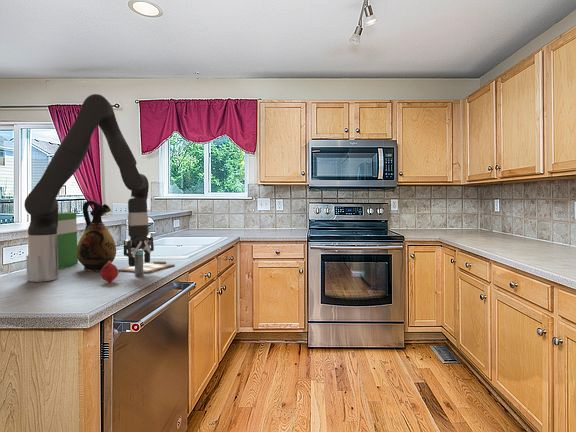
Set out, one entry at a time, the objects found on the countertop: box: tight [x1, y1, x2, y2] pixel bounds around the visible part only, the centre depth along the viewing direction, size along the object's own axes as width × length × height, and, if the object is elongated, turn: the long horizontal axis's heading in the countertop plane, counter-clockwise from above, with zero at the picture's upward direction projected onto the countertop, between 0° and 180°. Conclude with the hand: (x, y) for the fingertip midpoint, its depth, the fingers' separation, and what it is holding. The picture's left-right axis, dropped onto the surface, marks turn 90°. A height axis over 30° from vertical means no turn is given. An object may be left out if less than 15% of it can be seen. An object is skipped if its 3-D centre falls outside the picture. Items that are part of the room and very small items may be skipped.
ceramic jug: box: [77, 199, 117, 272], centre depth 165 cm, size 17×15×30 cm
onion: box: [100, 261, 119, 284], centre depth 140 cm, size 6×6×8 cm
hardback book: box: [57, 212, 79, 270], centre depth 172 cm, size 18×7×24 cm, turn 178°
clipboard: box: [117, 260, 176, 274], centre depth 167 cm, size 18×15×2 cm
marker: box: [134, 249, 144, 277], centre depth 152 cm, size 3×3×10 cm
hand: (139, 264), depth 153 cm, fingers open, 8 cm apart
